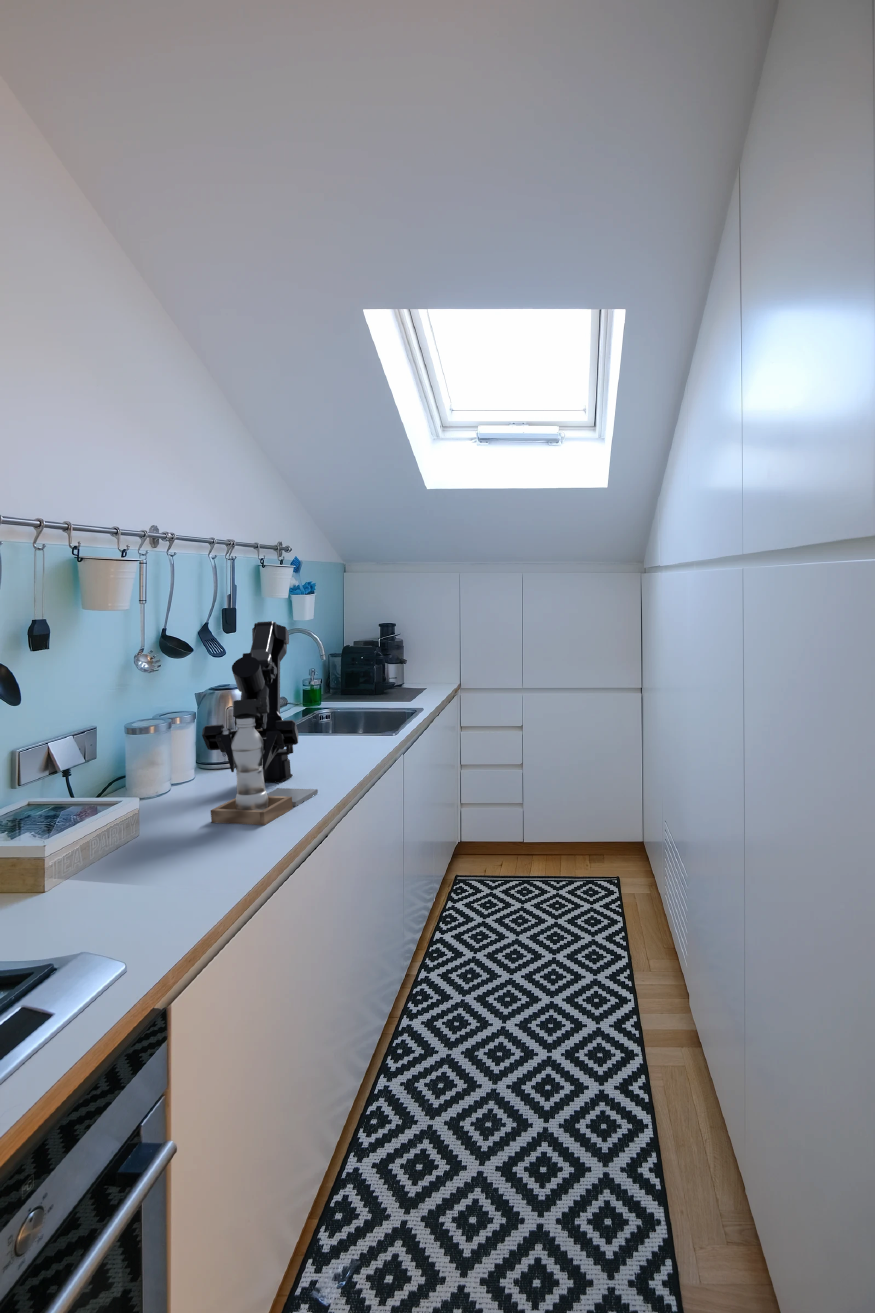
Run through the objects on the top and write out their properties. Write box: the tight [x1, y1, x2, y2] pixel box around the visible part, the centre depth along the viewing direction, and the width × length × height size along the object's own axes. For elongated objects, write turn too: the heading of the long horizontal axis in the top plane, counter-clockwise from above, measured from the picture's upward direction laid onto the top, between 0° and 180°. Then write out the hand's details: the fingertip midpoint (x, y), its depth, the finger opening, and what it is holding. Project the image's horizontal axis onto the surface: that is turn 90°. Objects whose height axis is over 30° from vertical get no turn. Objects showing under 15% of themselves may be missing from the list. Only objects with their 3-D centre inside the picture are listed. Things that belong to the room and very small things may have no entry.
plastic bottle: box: [231, 716, 268, 811], centre depth 152 cm, size 6×7×20 cm
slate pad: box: [267, 787, 319, 807], centre depth 164 cm, size 10×10×1 cm
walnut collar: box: [210, 796, 294, 826], centre depth 153 cm, size 12×11×2 cm
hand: (248, 770), depth 151 cm, fingers closed on plastic bottle, 6 cm apart
